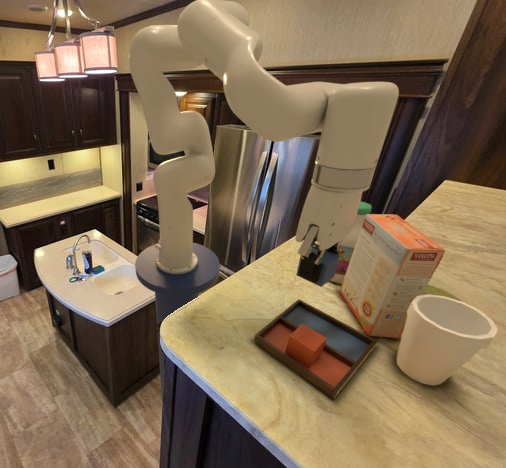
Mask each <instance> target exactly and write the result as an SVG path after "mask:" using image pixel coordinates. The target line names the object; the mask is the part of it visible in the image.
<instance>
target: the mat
mask: <svg viewBox="0 0 506 468" xmlns="http://www.w3.org/2000/svg"><path fill="white" fill-rule="evenodd" d="M427 294H430V295H438V296H445V297H448V298H452V299H455V300H458V301H461V299H460V298H459V297H457V296H456V295H453V294H451V293H450V292H448V291H446V290H444V289H442V288H439V287H436V286H434V285H430V284H428V285H427V287H426V289H425V291H424V293H423V295H427Z"/></svg>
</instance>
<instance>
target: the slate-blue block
mask: <svg viewBox="0 0 506 468" xmlns="http://www.w3.org/2000/svg"><path fill="white" fill-rule="evenodd" d="M311 251H312V252H313V253H315V254H316V255H317V254H318V251H319V250H317V249H314V248H312V250H311ZM339 259H340V256H339V255H337V254H334V253H331V252H329V251H326V250H325V252H324V255H323V258H322V260H321V263H323V266H322V269H321V273H320V276H319V280H318V282H317V283H313V282H311V281H309V280H307V279H305V278H303V277H300V276H299V269H300V265H301V261H302V258H301V255H300V257H299V261H298V266H297V270H296V274H295V275H296V276H297V277H299V278H301V279H303V280H305V281H308V282H309V283H312V284H314V285H316V286H318V287H320V288H322V287H323V286H325V285H326V284H327V283H328V282H330V280H331V279H332V278H333V277H334V276H335V272H336V269H337V266H338V263H339Z"/></svg>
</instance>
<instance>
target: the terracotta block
mask: <svg viewBox="0 0 506 468" xmlns="http://www.w3.org/2000/svg"><path fill="white" fill-rule="evenodd" d="M326 340H327V338H326V337H324V336H322V335H320V334H319V333H317V332H315V331H314V330H312V329H310V328H309V327H307V326H305V325H303V324H302V325H301V326H300V327H299V328H297V329H296V330H295V331H294V332H293V333H292V334H291V335H290V336H289V340H288V343H287V347H286V351H285V352H286V353H287V354H289V355H290V356H292V357H293V358H295V359H296V360H298V361H299V362H300V363H302V364H303V365H305V366H306V367H308V368H310V367H311V366H312V364H313V363H314V362H315V361H316V360H317V359H318V358H319V357H320V356H321V355H322V352H323V349H324V346H325V343H326Z"/></svg>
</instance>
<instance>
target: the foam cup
mask: <svg viewBox="0 0 506 468" xmlns="http://www.w3.org/2000/svg"><path fill="white" fill-rule="evenodd" d="M498 331H499V329H498V327H497V326H496V324H495V322H494V320H493V319H492V318H490V317H489V316H488V315H487V314H485V313H484V312H483V311H481V310H480V309H478V308H476V307H474V306H472V305H470V304H468V303H466V302H463V301H462V300H460V301H458V300H455V299H452V298H448V297H445V296H438V295H430V294H427V295H421V296H417V297H416V298H415V299H414V300H413V301H412V302H411V304H410V306H409V308H408V310H407V319H406V323H405V327H404V330H403V332H402V334H401V337H400V342H399V345H398V349H397V354H396V358H395V361H396V365H397V367H398V368H399V369H400V370H401V372H402V373H404V374H405V375H406V376H408V378H410V379H412V380H414V381H416V382H419V383H421V384H425V385H428V386H439V385H442V384H443V383H444V382H446V381H447V380H448V379H449V378H450V377H452V376H453V374H455V373H456V372H457V371H458V370H459V369H460V368H461V367H463V366H464V365H465V364H466V363H467V362H469V361H470V360H471V359H473V357H474V356H476V355H477V354H478V353H479V352H480V351H481V350H483V349H486V348H487V347H488V346H489V344H490V343H491V342H492V340H493V339H494V337H495V336H496V334H497V333H498Z"/></svg>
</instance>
